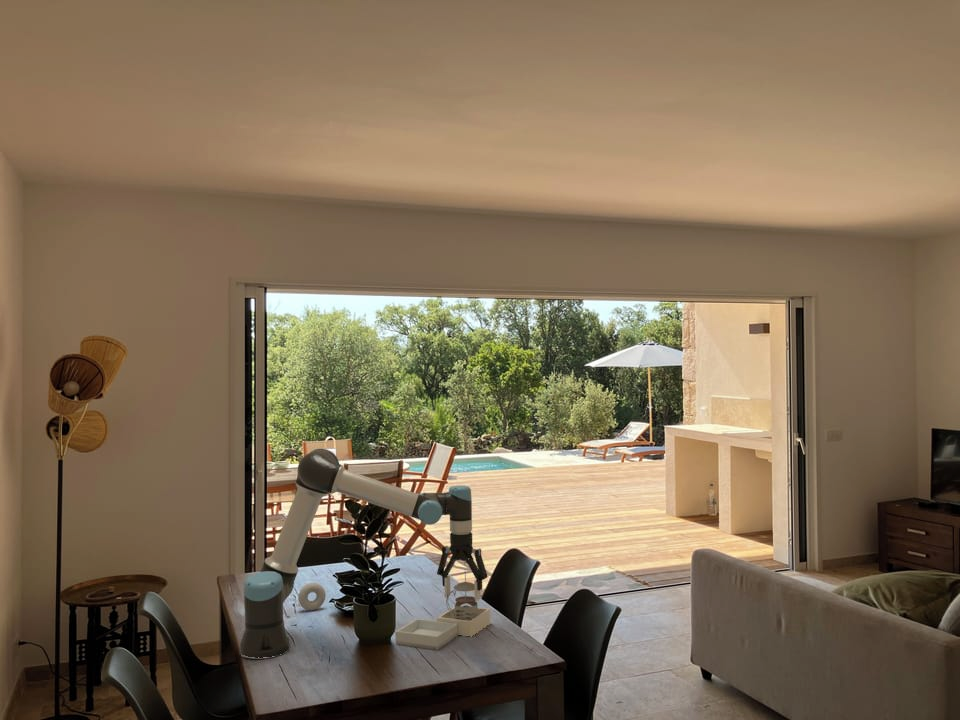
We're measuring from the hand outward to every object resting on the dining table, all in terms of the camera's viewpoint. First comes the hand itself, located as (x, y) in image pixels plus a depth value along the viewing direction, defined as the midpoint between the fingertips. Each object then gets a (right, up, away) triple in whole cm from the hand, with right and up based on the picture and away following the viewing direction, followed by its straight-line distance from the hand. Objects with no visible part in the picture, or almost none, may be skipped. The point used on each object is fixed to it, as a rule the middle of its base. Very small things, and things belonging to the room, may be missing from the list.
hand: (462, 598), depth 256 cm
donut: (-56, -12, +25) cm, 62 cm away
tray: (-11, -10, -11) cm, 19 cm away
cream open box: (+1, -10, -1) cm, 10 cm away
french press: (+1, -10, 0) cm, 10 cm away
